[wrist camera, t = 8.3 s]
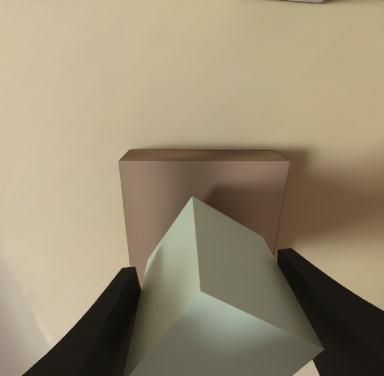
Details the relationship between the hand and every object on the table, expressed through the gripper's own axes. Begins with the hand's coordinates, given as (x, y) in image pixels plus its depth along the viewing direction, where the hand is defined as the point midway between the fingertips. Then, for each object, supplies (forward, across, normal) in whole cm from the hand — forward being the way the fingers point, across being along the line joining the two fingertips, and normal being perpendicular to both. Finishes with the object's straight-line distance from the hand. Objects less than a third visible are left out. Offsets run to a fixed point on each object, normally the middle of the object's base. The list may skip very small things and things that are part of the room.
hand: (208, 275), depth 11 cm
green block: (+2, 0, 0) cm, 2 cm away
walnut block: (+6, 0, 0) cm, 6 cm away
